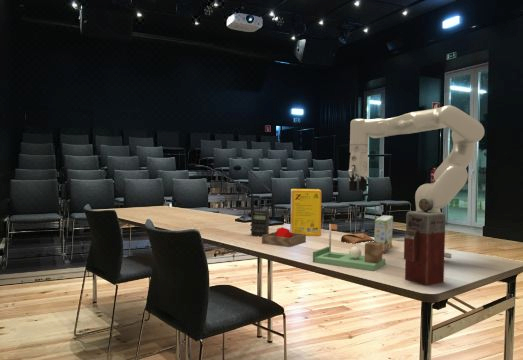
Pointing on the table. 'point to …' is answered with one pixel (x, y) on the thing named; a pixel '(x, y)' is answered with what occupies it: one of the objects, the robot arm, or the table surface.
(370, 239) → the sunglasses case
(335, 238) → the table surface
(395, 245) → the table surface
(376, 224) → the snack box
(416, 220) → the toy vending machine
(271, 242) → the display frame
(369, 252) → the block
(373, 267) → the green
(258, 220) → the geiger counter
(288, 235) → the gemstone
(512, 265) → the table surface
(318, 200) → the packaging box
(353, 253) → the ball
